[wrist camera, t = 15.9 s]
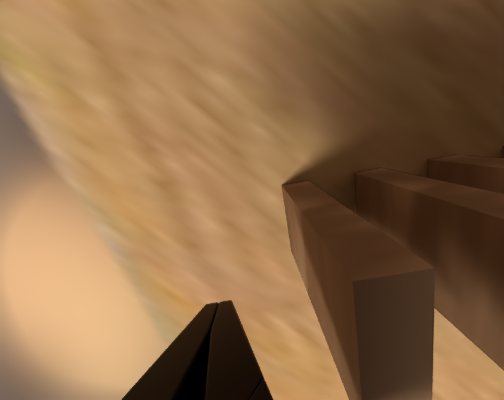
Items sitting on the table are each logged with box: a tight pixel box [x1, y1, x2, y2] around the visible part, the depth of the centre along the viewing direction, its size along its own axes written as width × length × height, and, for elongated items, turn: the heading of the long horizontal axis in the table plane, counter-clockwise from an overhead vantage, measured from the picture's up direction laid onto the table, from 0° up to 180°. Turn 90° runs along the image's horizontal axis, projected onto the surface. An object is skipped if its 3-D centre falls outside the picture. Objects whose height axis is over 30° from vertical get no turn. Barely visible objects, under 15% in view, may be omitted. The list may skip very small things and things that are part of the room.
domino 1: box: [282, 181, 435, 400], centre depth 10 cm, size 2×4×10 cm, turn 10°
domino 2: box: [354, 168, 504, 370], centre depth 10 cm, size 2×4×10 cm, turn 10°
